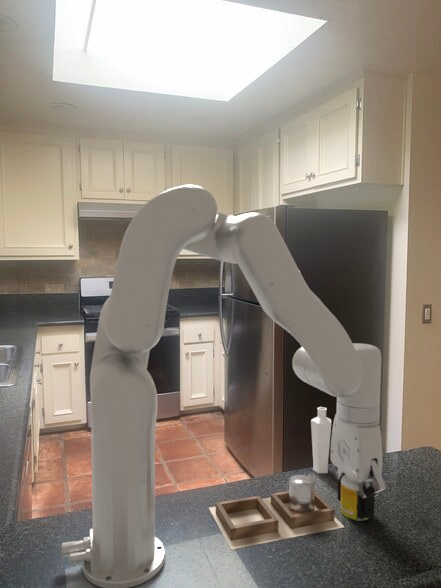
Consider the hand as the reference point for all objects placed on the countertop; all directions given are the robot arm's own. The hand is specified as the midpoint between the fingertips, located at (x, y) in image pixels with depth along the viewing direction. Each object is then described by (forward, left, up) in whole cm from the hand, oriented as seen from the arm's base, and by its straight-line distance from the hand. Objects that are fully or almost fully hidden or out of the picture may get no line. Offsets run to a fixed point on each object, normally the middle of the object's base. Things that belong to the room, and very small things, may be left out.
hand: (355, 507), depth 83 cm
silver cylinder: (-10, +3, -1) cm, 10 cm away
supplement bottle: (0, 0, -2) cm, 2 cm away
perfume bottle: (+3, +17, -2) cm, 17 cm away
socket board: (-15, +3, -2) cm, 15 cm away
